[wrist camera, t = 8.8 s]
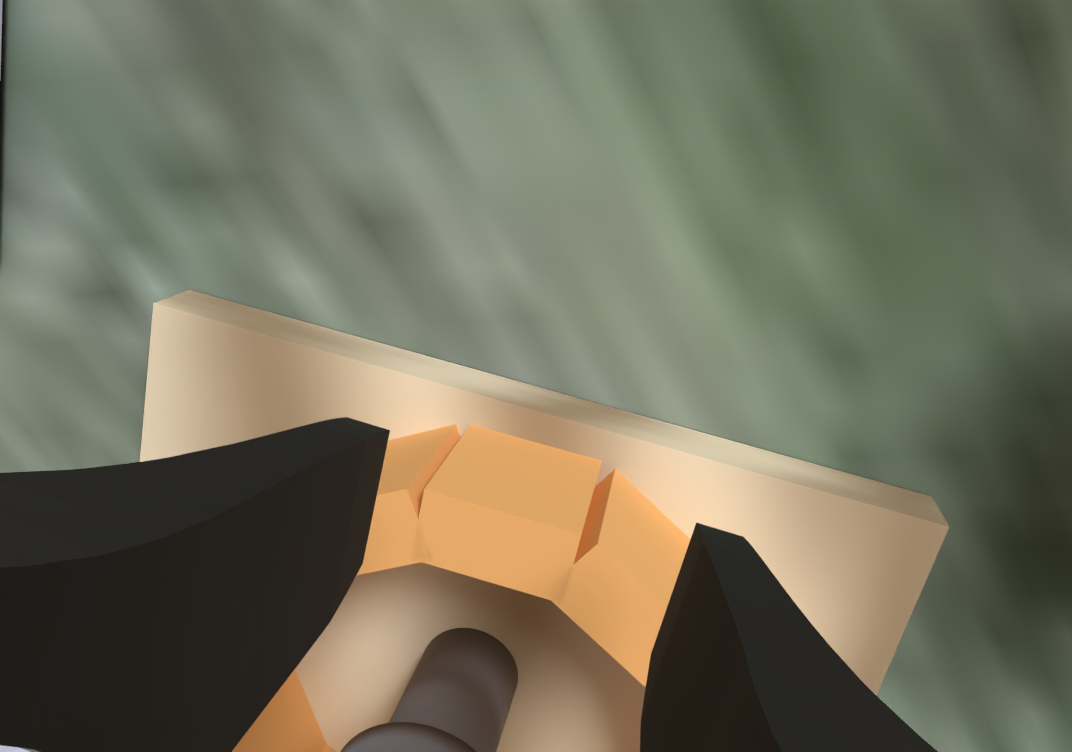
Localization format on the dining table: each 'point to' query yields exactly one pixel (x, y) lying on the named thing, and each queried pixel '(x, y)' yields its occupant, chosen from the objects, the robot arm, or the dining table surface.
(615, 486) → the faceted orange ring
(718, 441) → the peg board
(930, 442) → the dining table surface
